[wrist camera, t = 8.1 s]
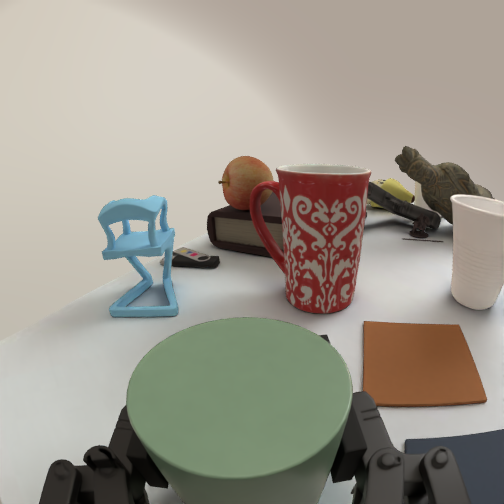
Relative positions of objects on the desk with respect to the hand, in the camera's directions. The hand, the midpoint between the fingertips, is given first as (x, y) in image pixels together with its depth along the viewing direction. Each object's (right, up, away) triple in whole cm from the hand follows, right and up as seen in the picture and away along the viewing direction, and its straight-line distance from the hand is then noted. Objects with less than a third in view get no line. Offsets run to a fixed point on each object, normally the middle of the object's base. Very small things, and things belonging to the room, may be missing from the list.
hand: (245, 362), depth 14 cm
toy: (+28, +20, +58) cm, 67 cm away
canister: (0, -7, -3) cm, 8 cm away
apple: (+3, +15, +30) cm, 34 cm away
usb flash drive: (-8, +5, +28) cm, 30 cm away
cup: (+26, 0, +13) cm, 29 cm away
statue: (+54, +12, +35) cm, 66 cm away
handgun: (+30, +12, +30) cm, 44 cm away
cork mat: (+14, -3, +6) cm, 15 cm away
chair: (-11, 0, +19) cm, 22 cm away
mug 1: (+6, +1, +18) cm, 19 cm away
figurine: (+30, +8, +33) cm, 45 cm away
